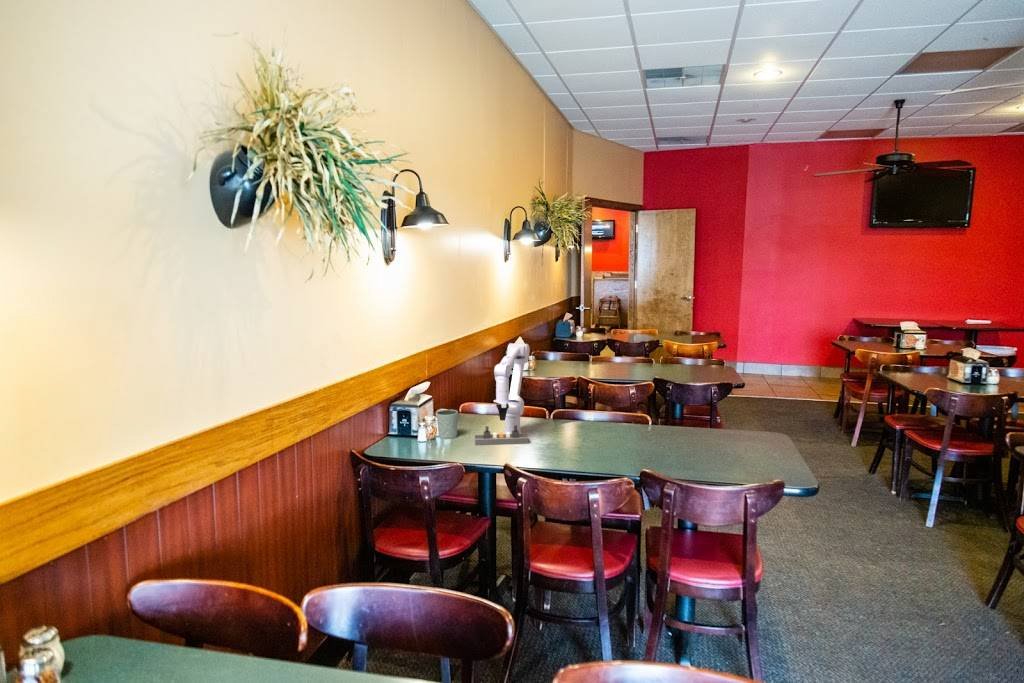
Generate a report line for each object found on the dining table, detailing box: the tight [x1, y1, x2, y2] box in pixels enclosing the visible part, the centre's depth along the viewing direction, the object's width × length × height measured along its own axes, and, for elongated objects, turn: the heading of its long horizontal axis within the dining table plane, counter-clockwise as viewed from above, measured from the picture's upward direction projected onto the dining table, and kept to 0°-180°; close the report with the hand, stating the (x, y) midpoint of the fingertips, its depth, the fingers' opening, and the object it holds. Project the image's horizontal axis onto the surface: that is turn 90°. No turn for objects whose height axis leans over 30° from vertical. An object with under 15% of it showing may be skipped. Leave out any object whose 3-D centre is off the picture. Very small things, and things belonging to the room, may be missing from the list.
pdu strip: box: [474, 433, 529, 446], centre depth 281 cm, size 7×24×3 cm, turn 95°
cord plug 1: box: [483, 425, 492, 438], centre depth 280 cm, size 3×3×5 cm
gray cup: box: [435, 409, 459, 440], centre depth 290 cm, size 10×10×12 cm
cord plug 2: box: [512, 425, 519, 437], centre depth 281 cm, size 3×3×5 cm
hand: (502, 420), depth 280 cm, fingers closed
